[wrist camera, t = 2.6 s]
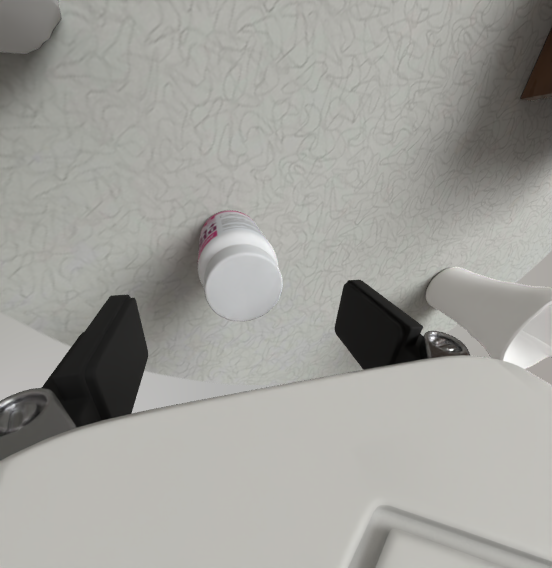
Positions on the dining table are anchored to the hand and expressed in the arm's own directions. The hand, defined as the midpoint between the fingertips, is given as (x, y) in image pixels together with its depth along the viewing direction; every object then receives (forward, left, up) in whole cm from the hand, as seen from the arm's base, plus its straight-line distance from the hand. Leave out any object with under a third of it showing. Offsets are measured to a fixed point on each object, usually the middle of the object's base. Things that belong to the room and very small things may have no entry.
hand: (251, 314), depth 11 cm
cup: (+5, +26, -10) cm, 28 cm away
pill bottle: (-1, 0, -10) cm, 10 cm away
